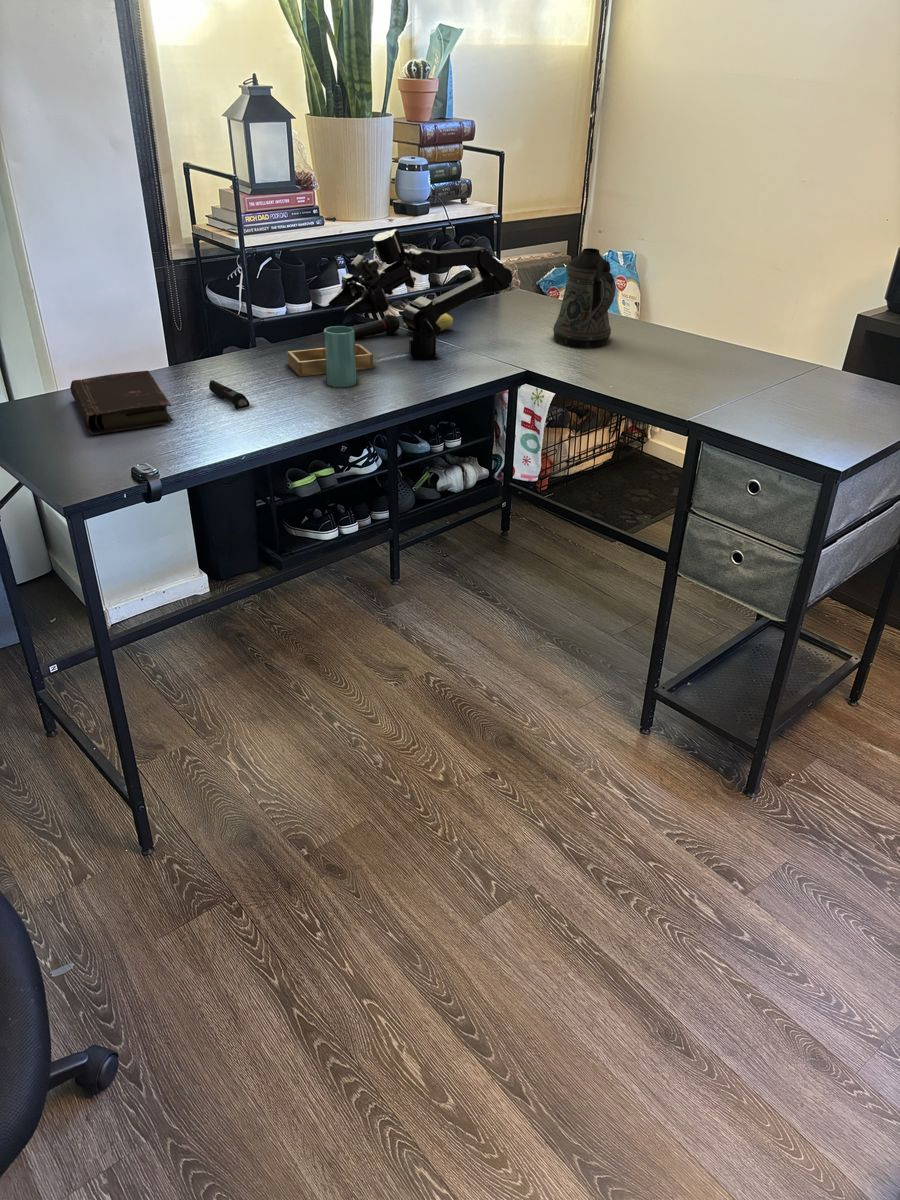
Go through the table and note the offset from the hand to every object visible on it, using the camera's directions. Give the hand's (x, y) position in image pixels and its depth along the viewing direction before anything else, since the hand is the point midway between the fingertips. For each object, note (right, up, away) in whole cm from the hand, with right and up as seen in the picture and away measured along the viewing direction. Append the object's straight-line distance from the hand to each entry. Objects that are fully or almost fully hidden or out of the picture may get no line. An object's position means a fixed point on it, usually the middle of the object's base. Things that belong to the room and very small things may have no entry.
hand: (336, 308), depth 222 cm
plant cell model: (+22, +9, +39) cm, 45 cm away
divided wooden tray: (-3, -12, +10) cm, 16 cm away
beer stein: (+67, +2, +34) cm, 76 cm away
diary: (-45, -31, -22) cm, 59 cm away
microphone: (+5, +3, +35) cm, 36 cm away
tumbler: (+1, -19, -1) cm, 19 cm away
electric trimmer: (-24, -26, -14) cm, 38 cm away
